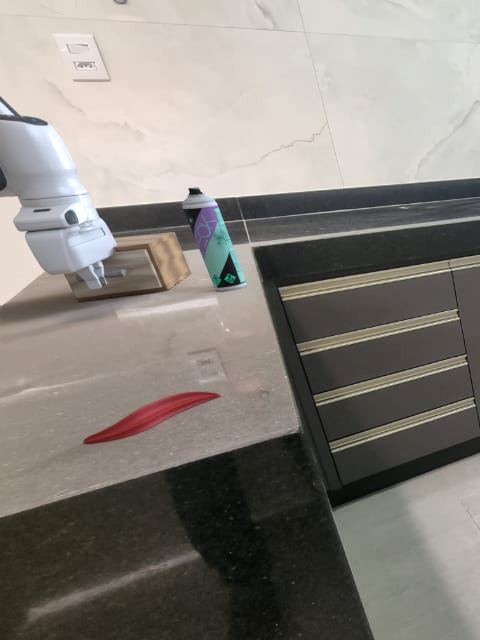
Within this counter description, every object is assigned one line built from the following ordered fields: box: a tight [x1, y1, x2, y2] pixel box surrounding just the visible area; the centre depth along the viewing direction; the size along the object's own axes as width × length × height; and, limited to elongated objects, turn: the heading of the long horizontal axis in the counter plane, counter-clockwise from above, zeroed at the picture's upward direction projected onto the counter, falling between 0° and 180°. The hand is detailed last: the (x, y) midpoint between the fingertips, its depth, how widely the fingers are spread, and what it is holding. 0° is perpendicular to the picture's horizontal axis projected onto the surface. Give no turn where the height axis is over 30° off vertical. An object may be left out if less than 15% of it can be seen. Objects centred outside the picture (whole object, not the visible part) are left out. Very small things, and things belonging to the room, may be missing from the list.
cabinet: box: [64, 231, 192, 303], centre depth 113 cm, size 16×15×10 cm
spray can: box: [181, 186, 248, 292], centre depth 106 cm, size 6×6×20 cm
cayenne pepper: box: [82, 391, 222, 444], centre depth 58 cm, size 12×5×2 cm, turn 137°
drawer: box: [63, 249, 162, 299], centre depth 110 cm, size 19×14×8 cm
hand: (99, 287), depth 101 cm, fingers closed
